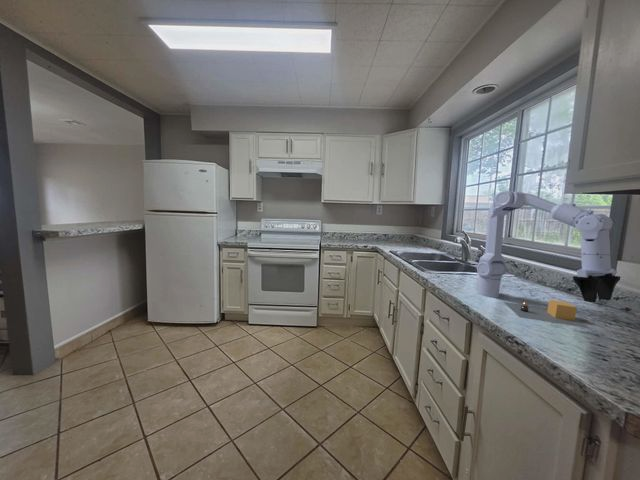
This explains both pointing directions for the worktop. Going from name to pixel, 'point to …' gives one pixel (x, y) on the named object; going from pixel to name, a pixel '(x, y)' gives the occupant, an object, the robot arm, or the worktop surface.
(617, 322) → the worktop surface
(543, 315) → the plate
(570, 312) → the orange block
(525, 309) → the wire post
